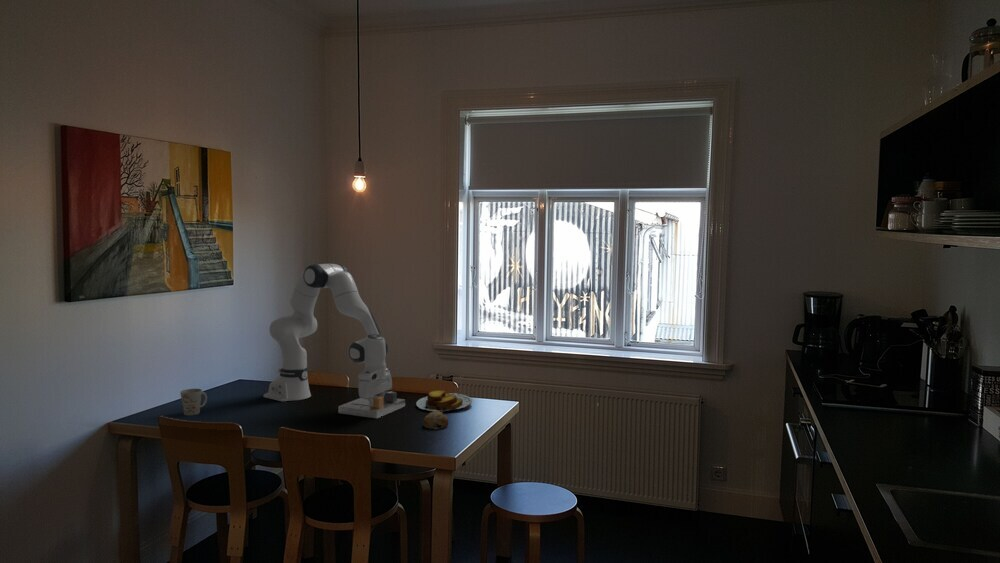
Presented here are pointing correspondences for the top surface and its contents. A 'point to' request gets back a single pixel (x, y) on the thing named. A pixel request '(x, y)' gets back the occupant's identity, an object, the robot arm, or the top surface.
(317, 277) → the robot arm
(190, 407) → the mug
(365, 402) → the mixing panel
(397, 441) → the top surface
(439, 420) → the bread roll
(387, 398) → the black fader
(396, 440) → the top surface
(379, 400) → the orange fader
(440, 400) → the food on plate
